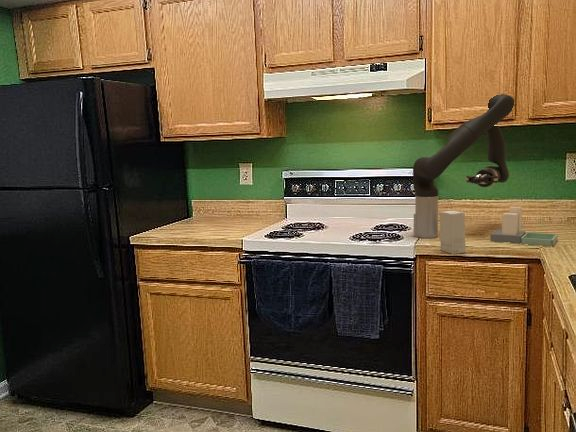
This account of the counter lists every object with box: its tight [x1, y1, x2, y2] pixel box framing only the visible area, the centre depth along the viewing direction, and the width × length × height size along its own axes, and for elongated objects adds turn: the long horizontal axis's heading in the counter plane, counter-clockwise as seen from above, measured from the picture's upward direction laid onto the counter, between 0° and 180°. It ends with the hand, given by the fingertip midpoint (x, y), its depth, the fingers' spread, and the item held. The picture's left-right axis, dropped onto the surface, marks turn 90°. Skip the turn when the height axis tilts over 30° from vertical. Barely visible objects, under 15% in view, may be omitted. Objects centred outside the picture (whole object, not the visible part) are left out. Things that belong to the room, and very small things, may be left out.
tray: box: [520, 231, 559, 248], centre depth 202 cm, size 11×13×2 cm
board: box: [489, 229, 527, 244], centre depth 208 cm, size 11×11×3 cm
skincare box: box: [439, 210, 467, 255], centre depth 191 cm, size 8×6×15 cm
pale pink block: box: [501, 212, 518, 235], centre depth 205 cm, size 5×4×8 cm
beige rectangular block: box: [508, 205, 523, 233], centre depth 208 cm, size 4×4×10 cm
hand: (476, 181), depth 207 cm, fingers closed
